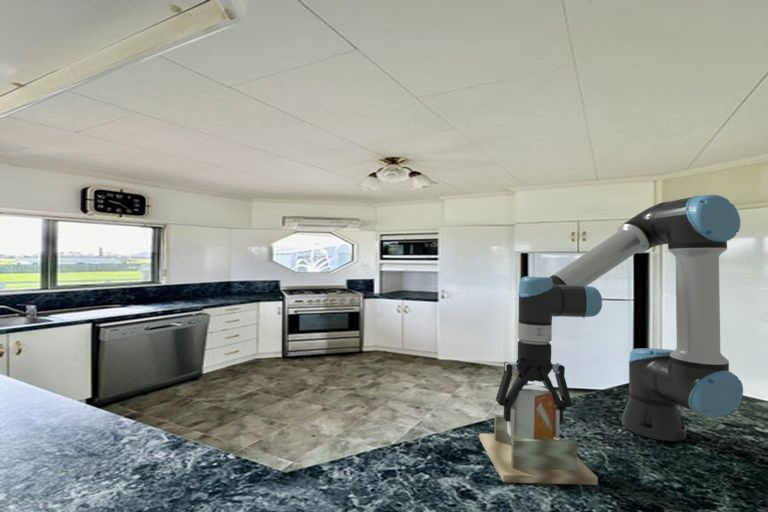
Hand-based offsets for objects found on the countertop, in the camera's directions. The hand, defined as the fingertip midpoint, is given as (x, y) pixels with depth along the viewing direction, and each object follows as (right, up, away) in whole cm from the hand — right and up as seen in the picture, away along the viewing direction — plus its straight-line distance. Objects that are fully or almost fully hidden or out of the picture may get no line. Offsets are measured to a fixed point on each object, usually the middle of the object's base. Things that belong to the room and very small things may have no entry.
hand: (532, 435), depth 91 cm
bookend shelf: (0, -6, 0) cm, 6 cm away
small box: (0, -2, 0) cm, 2 cm away
